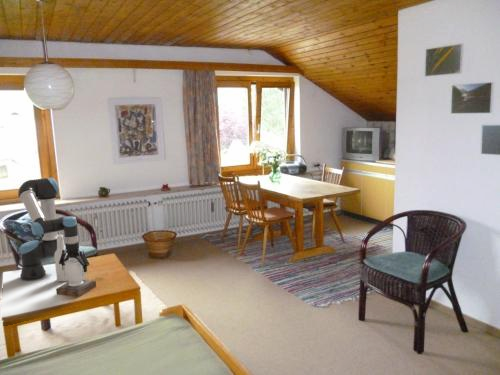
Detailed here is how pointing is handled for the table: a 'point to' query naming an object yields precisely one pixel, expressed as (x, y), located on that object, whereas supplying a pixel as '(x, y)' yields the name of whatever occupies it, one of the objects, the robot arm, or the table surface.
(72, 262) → the jar
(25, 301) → the table surface
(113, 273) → the table surface
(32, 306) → the table surface
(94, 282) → the plinth
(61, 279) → the alcohol
